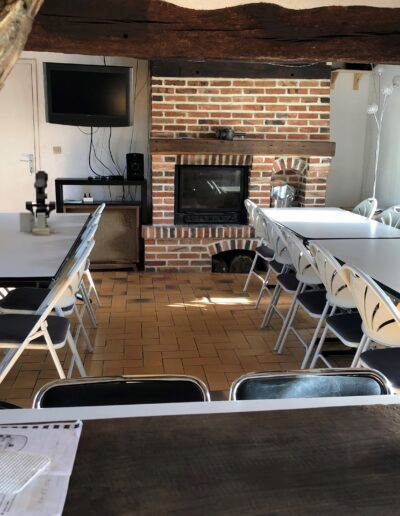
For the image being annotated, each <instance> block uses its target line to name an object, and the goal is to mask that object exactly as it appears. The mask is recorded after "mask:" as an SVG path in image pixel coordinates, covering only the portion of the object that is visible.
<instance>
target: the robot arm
mask: <svg viewBox="0 0 400 516" xmlns="http://www.w3.org/2000/svg"><path fill="white" fill-rule="evenodd" d="M48 181H49V173H47V172H46V171H45V170H37V171H36V173H35V182H34V184H33V186H34V189H35V203H33V201H25V210H27V212H31V213H32V215H33V216H34V212H35V219H37V213H45V220H46V228H48V227H49V225H48V224H47V223H48V221H47V219H50V215H51V213H52V212H53V211H55V210H56V207H57V205H56V204H57V202H56V201H51V200H50V201H49V203H46V200H47V199H48V193H46V189H47V187H48ZM34 208H36V209H35V211H34Z"/></svg>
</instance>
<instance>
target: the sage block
mask: <svg viewBox="0 0 400 516" xmlns="http://www.w3.org/2000/svg"><path fill="white" fill-rule="evenodd" d="M36 222H37V223H36V224H37V225H36V228H37V229H46V228H47V227H46V220H45V213H37V218H36Z"/></svg>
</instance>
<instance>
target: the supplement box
mask: <svg viewBox="0 0 400 516" xmlns="http://www.w3.org/2000/svg"><path fill="white" fill-rule="evenodd" d="M33 212H34V216H33V215H32V213H31V212H30V211H21V212H19V232H23V233H25V232H26V233H32V230H33V229H34V228H36V211H33Z"/></svg>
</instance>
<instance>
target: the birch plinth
mask: <svg viewBox="0 0 400 516" xmlns="http://www.w3.org/2000/svg"><path fill="white" fill-rule="evenodd" d="M31 233H32V237H33V236H35V237H39V236H40V237H41V236H43V237H45V236H46V237H49V236H50V235H51V227H46V229H37V227H35V228H34V229H33V230H32V231H31Z"/></svg>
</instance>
